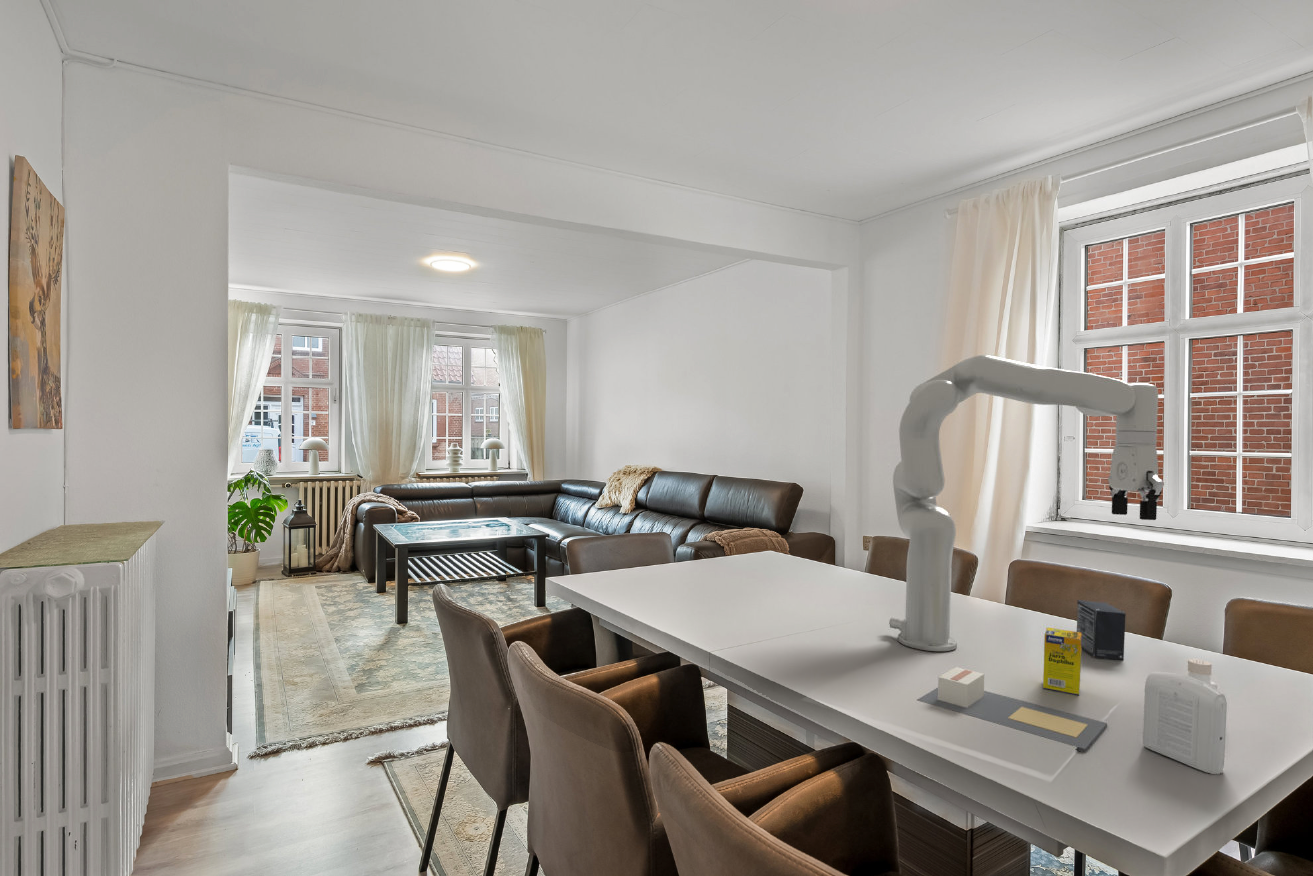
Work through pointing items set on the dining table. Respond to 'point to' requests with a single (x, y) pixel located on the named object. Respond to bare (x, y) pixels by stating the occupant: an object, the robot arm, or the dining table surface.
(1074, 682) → the supplement box
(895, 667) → the dining table surface
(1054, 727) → the mat
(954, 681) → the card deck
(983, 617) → the dining table surface
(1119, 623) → the small box
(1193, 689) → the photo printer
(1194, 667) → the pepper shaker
